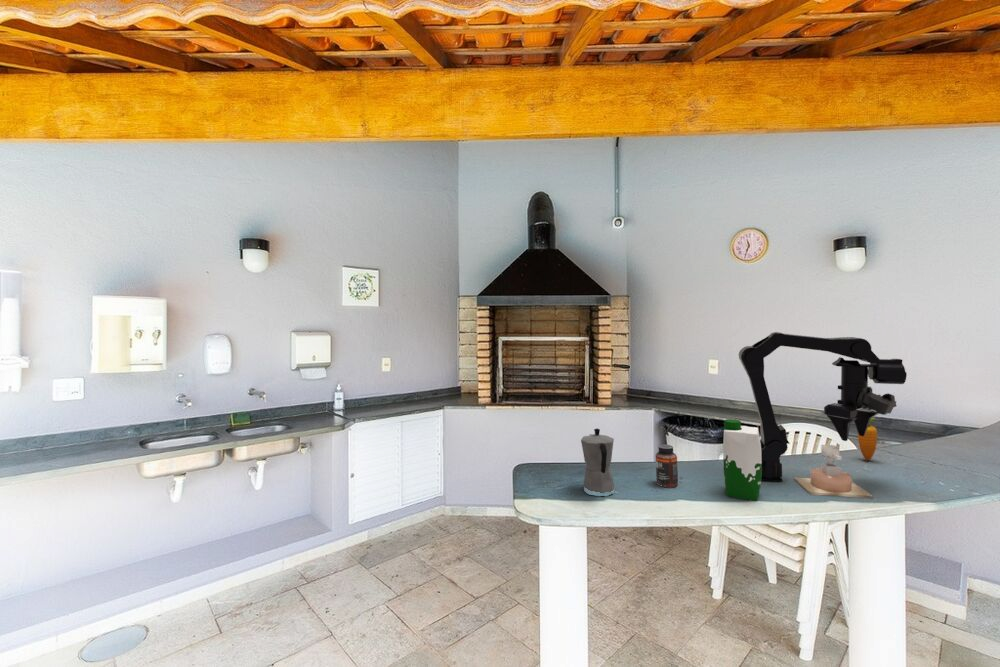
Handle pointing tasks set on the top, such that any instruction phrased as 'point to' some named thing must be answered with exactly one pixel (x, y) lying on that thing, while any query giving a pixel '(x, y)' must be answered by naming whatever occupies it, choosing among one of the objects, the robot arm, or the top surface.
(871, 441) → the carrot
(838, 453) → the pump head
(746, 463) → the milk carton
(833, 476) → the soap jar
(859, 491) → the birch board
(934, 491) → the top surface
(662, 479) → the supplement bottle
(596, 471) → the coffeepot
